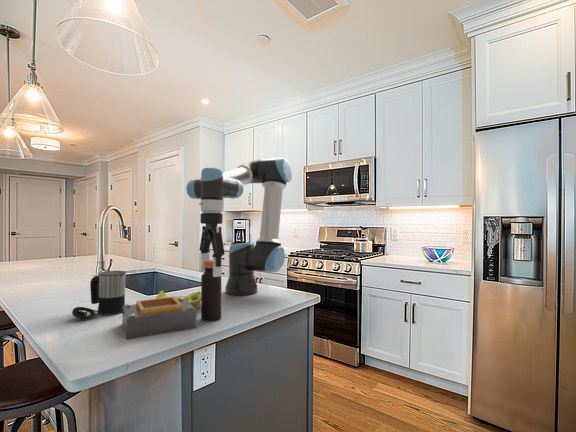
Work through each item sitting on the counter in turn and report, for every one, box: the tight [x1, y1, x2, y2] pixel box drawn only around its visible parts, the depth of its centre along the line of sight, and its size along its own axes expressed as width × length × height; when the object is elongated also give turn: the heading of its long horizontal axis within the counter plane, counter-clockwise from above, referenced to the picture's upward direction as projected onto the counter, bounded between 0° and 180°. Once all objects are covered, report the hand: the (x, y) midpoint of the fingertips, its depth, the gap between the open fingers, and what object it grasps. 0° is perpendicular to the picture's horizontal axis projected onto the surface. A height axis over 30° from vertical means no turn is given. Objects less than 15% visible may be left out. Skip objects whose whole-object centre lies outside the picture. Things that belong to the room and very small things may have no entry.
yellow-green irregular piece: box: [154, 290, 201, 309], centre depth 127 cm, size 20×7×10 cm
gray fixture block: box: [121, 296, 198, 341], centre depth 104 cm, size 20×16×8 cm
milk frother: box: [71, 270, 127, 320], centre depth 117 cm, size 14×16×15 cm
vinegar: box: [200, 259, 222, 322], centre depth 112 cm, size 7×7×20 cm
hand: (210, 273), depth 112 cm, fingers open, 13 cm apart
